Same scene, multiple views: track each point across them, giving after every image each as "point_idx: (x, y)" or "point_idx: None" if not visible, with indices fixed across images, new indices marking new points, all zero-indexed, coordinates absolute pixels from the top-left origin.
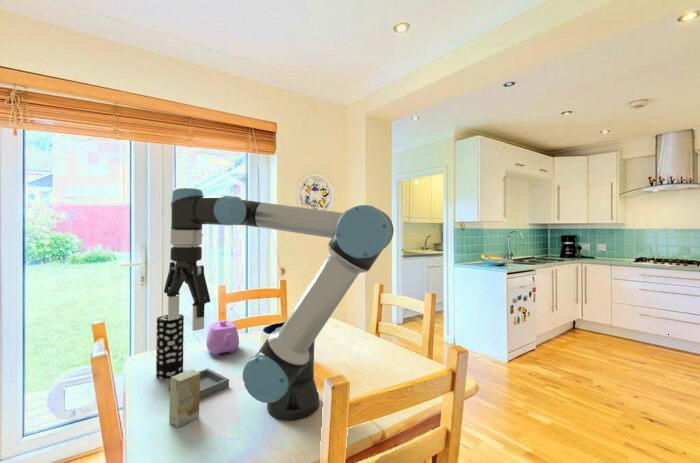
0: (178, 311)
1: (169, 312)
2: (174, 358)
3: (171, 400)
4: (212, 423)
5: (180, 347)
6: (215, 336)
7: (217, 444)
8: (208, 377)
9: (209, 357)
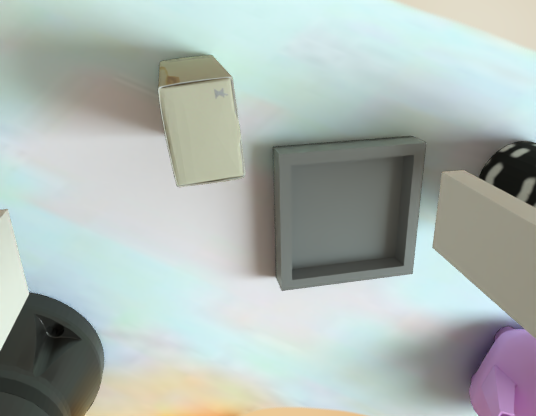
0: (466, 273)
1: (485, 199)
2: None
3: (206, 64)
4: (104, 149)
5: None
6: None
7: None
8: (376, 256)
9: None
